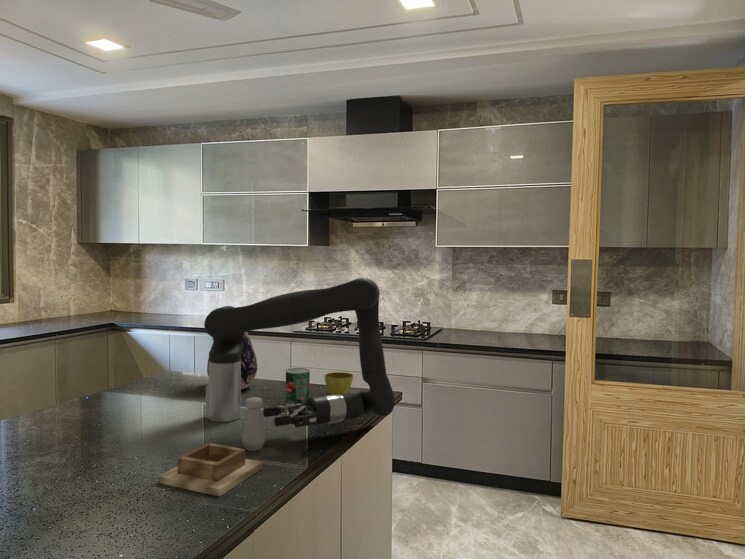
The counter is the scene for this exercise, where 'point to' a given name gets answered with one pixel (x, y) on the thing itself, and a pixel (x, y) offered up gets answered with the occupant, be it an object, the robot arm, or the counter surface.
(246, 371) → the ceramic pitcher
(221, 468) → the socket holder
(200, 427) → the counter surface
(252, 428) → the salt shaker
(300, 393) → the canned tomato
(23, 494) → the counter surface
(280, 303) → the robot arm
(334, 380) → the flower pot
